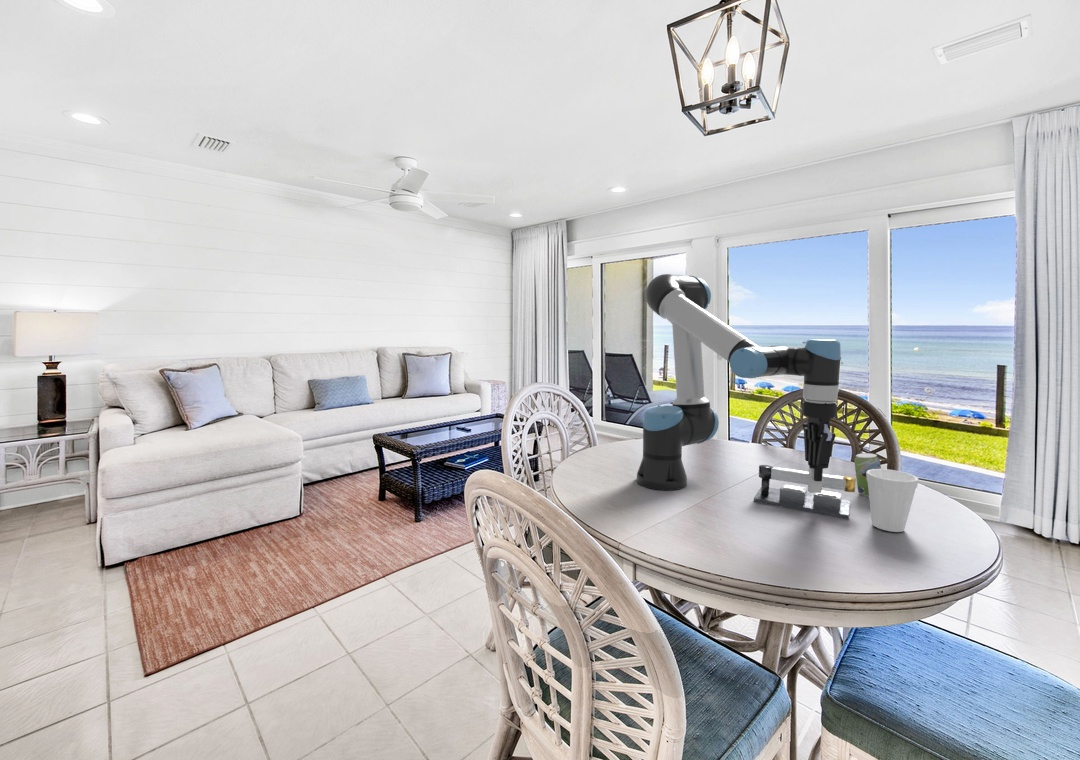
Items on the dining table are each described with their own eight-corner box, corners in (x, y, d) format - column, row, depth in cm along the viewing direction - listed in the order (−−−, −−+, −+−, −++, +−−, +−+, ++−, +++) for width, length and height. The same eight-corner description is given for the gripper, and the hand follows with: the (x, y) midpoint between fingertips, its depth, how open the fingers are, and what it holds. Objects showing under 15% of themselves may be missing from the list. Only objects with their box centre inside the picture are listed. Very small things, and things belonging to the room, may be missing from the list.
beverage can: (887, 500, 131) (890, 457, 130) (858, 498, 133) (861, 456, 132) (876, 492, 138) (879, 452, 136) (848, 490, 139) (851, 450, 138)
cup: (917, 540, 106) (922, 484, 105) (863, 531, 112) (867, 477, 110) (911, 525, 115) (915, 472, 113) (861, 516, 120) (865, 466, 119)
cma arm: (757, 478, 133) (758, 466, 132) (759, 474, 136) (760, 463, 135) (854, 493, 120) (855, 481, 120) (854, 489, 123) (855, 477, 123)
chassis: (753, 501, 131) (754, 481, 130) (761, 489, 141) (762, 470, 140) (848, 519, 119) (850, 497, 118) (849, 504, 128) (851, 483, 128)
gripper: (849, 405, 112) (843, 501, 115) (823, 397, 125) (818, 484, 127) (815, 404, 113) (809, 500, 116) (793, 397, 126) (789, 483, 128)
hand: (814, 491), depth 121 cm, fingers closed
